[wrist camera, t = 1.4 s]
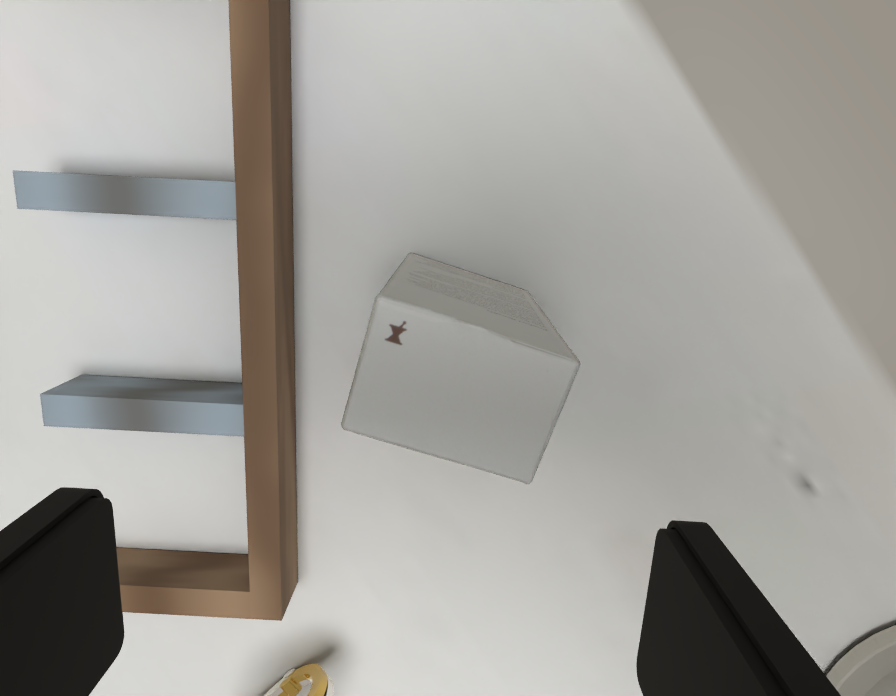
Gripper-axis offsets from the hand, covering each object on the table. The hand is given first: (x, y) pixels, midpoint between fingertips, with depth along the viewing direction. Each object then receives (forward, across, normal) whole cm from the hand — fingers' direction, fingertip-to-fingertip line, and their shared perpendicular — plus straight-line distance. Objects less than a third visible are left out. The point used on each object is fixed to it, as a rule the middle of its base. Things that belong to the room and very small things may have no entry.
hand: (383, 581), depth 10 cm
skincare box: (+19, -1, -1) cm, 19 cm away
